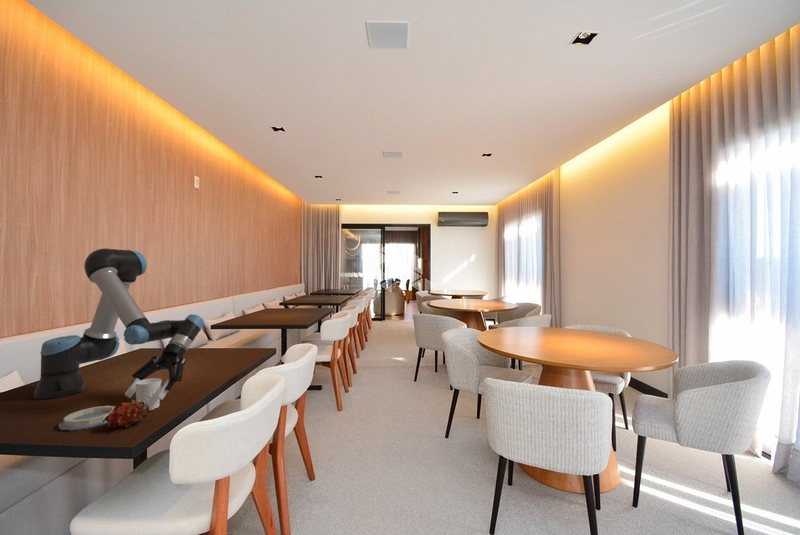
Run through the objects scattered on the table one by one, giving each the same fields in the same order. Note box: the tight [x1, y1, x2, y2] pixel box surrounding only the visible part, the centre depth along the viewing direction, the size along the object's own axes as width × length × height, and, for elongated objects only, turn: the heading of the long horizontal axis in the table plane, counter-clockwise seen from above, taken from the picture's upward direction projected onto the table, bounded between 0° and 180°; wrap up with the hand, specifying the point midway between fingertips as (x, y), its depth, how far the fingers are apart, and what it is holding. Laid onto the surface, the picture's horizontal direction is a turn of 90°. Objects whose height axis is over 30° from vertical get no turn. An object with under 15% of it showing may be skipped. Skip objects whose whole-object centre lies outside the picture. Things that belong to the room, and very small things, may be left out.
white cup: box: [135, 377, 163, 412], centre depth 128 cm, size 8×8×10 cm
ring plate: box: [58, 405, 117, 432], centre depth 117 cm, size 16×16×2 cm
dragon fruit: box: [103, 399, 149, 428], centre depth 113 cm, size 8×8×12 cm
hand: (143, 397), depth 126 cm, fingers open, 13 cm apart
